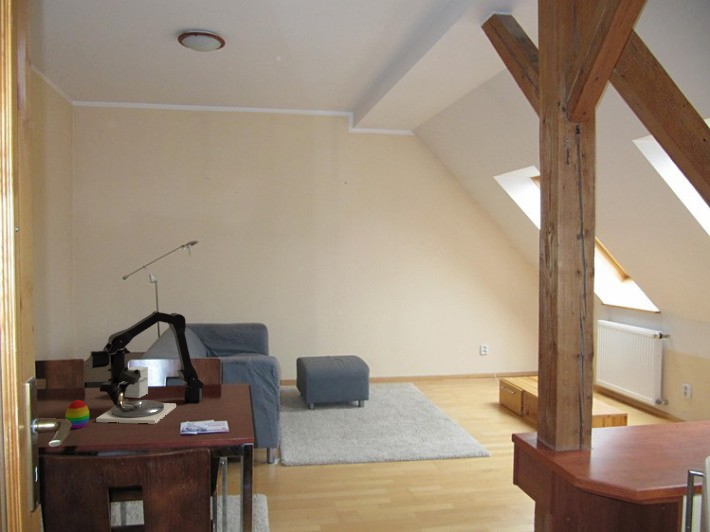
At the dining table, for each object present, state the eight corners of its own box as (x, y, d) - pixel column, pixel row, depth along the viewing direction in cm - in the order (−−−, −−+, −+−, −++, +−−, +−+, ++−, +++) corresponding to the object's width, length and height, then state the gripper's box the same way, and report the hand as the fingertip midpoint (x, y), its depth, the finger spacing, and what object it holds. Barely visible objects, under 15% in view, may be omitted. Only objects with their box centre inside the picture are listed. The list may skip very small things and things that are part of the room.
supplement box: (139, 398, 259) (139, 370, 258) (124, 397, 260) (124, 369, 260) (148, 394, 266) (148, 366, 265) (133, 393, 267) (133, 365, 267)
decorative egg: (81, 421, 225) (81, 396, 225) (93, 425, 220) (93, 399, 220) (61, 426, 218) (60, 400, 218) (72, 431, 214) (72, 404, 213)
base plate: (175, 407, 247) (175, 403, 247) (155, 424, 224) (155, 419, 224) (122, 405, 248) (122, 401, 248) (96, 422, 225) (96, 417, 225)
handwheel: (173, 405, 242) (173, 390, 242) (143, 419, 223) (144, 403, 223) (131, 400, 248) (131, 386, 248) (98, 414, 229) (98, 398, 229)
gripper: (125, 371, 226) (126, 411, 227) (147, 360, 245) (148, 396, 246) (98, 370, 227) (99, 409, 228) (122, 359, 246) (123, 396, 247)
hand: (118, 402), depth 237 cm, fingers open, 4 cm apart
